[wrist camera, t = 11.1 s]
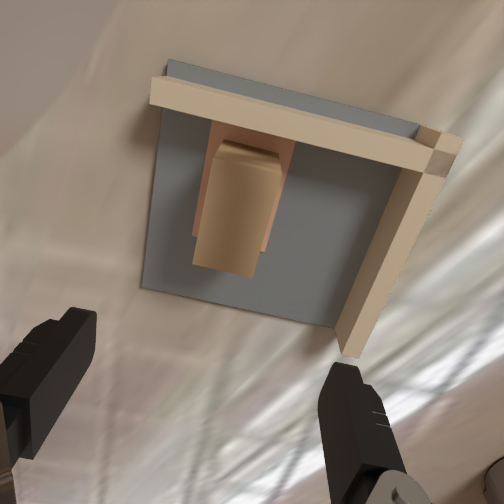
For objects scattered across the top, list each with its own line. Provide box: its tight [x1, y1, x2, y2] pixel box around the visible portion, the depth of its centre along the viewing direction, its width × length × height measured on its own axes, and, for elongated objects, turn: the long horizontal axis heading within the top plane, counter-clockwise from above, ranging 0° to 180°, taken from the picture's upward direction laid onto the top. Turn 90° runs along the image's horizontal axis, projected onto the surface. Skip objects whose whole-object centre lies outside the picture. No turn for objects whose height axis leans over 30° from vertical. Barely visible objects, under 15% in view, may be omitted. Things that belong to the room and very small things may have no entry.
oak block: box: [192, 139, 282, 278], centre depth 25 cm, size 4×7×6 cm, turn 166°
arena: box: [142, 59, 464, 358], centre depth 27 cm, size 18×19×4 cm
